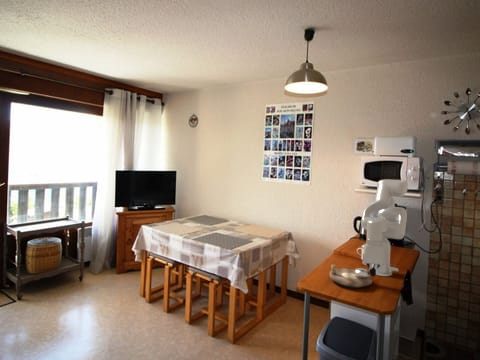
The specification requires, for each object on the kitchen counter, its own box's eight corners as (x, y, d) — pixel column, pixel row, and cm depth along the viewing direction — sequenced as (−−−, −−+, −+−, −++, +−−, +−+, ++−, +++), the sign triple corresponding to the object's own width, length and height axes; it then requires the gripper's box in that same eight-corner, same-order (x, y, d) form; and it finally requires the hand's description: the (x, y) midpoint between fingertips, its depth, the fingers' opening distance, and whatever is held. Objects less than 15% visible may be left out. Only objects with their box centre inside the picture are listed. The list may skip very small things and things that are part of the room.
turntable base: (362, 278, 168) (363, 274, 168) (368, 289, 153) (368, 285, 153) (333, 275, 172) (334, 271, 172) (336, 286, 156) (336, 282, 156)
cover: (367, 275, 163) (367, 268, 163) (369, 279, 157) (370, 273, 156) (353, 273, 165) (354, 267, 165) (355, 278, 158) (356, 272, 158)
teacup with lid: (376, 259, 202) (376, 242, 201) (374, 262, 194) (375, 245, 194) (357, 256, 208) (358, 240, 208) (355, 259, 201) (356, 242, 200)
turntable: (367, 273, 170) (368, 262, 170) (376, 288, 149) (376, 276, 149) (328, 269, 175) (328, 258, 175) (331, 284, 154) (331, 272, 154)
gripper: (386, 241, 160) (385, 274, 161) (357, 239, 164) (356, 272, 164) (390, 245, 153) (389, 279, 154) (360, 243, 156) (359, 276, 157)
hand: (372, 275), depth 159 cm, fingers closed
